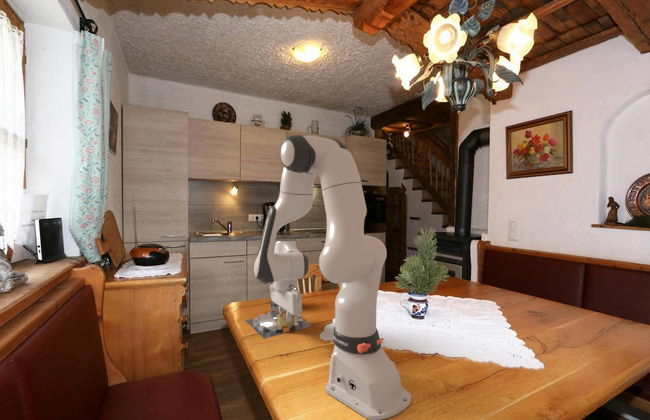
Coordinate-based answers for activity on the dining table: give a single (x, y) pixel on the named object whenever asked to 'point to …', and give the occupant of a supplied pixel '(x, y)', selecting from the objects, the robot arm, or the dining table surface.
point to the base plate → (267, 334)
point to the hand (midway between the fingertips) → (285, 319)
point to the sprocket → (274, 323)
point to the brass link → (282, 322)
